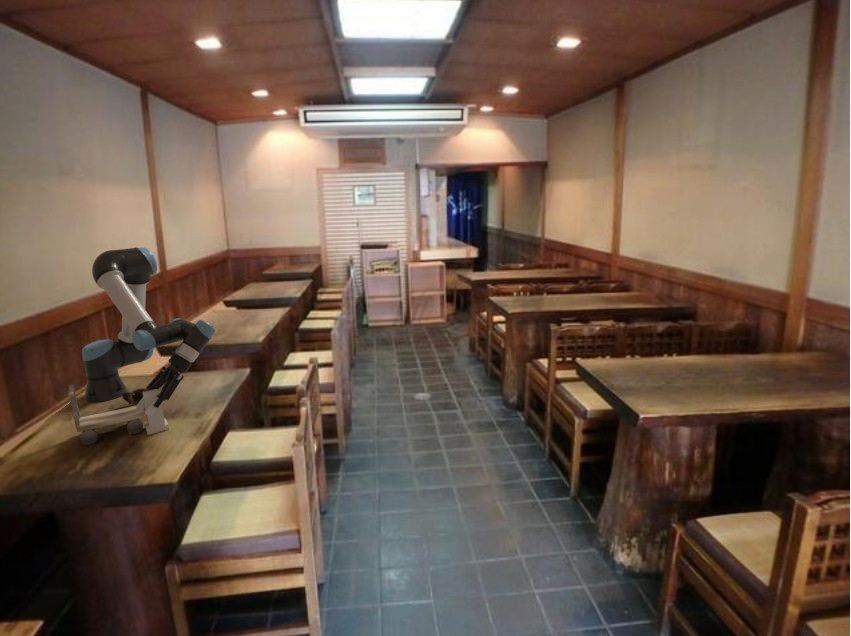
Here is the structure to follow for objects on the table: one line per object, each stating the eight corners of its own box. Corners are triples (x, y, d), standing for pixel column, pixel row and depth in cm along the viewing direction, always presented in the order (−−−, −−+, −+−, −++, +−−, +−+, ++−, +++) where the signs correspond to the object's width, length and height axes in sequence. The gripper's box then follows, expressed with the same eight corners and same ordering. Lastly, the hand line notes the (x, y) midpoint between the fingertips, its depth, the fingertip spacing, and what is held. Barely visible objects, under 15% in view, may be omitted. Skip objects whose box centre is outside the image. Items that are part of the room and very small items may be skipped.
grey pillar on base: (145, 427, 191) (139, 392, 188) (166, 422, 195) (160, 387, 192) (147, 434, 185) (141, 398, 182) (169, 429, 189) (163, 393, 186)
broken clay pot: (158, 400, 218) (156, 388, 213) (148, 418, 211) (146, 405, 205) (128, 395, 216) (125, 382, 211) (116, 413, 209) (114, 400, 204)
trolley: (78, 433, 188) (68, 383, 183) (142, 419, 198) (134, 371, 194) (78, 447, 177) (67, 394, 173) (145, 431, 188) (137, 381, 183)
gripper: (204, 368, 190) (164, 423, 181) (179, 358, 203) (141, 409, 195) (187, 357, 185) (145, 414, 176) (163, 348, 198) (123, 400, 190)
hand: (143, 411), depth 186 cm, fingers open, 8 cm apart
